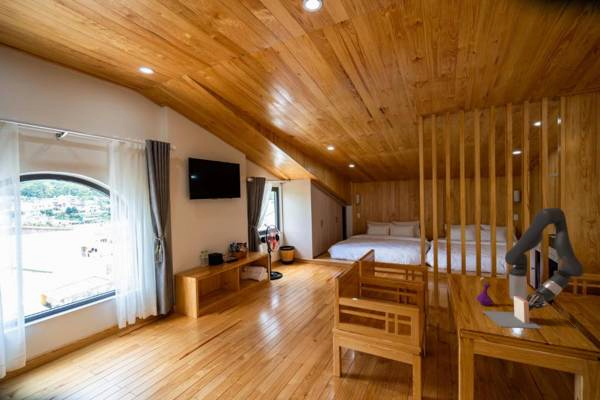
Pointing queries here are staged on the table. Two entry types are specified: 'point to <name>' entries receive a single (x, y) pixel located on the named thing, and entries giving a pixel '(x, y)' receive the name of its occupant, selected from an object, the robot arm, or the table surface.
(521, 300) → the tile
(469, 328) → the table surface
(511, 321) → the mat
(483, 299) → the perfume bottle
